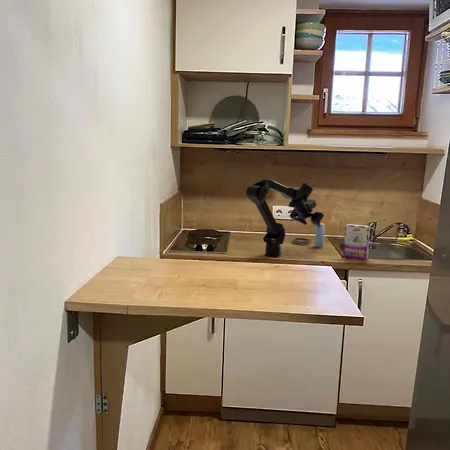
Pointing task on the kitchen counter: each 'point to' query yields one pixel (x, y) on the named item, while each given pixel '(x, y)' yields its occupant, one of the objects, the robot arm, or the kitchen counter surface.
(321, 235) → the bead jar
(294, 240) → the walnut tray
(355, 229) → the candy bar box
